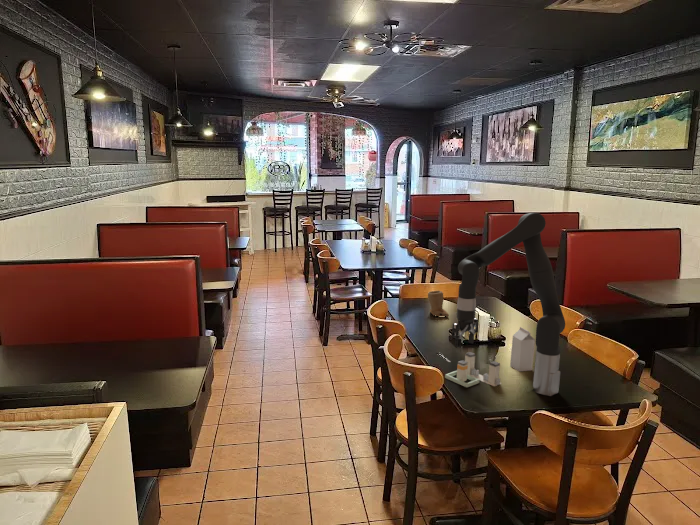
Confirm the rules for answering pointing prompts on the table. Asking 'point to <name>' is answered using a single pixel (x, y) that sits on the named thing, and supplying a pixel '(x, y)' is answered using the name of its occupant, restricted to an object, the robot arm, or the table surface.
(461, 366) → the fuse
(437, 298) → the brown boot
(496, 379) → the block
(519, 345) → the milk carton
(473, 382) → the tray
